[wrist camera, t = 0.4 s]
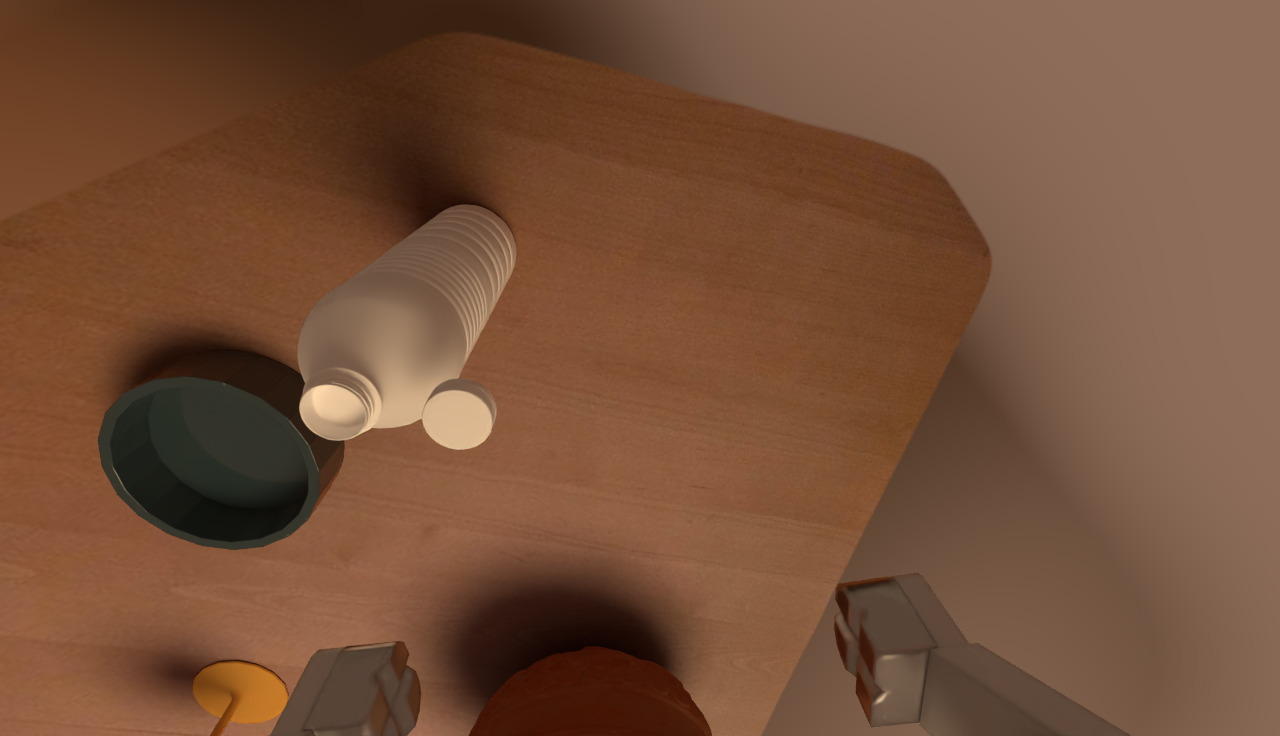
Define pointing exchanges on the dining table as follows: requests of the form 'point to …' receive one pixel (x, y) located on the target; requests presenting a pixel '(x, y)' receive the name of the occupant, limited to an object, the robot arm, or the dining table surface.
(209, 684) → the cup
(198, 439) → the holder
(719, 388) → the dining table surface
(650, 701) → the bowl
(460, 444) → the water bottle
